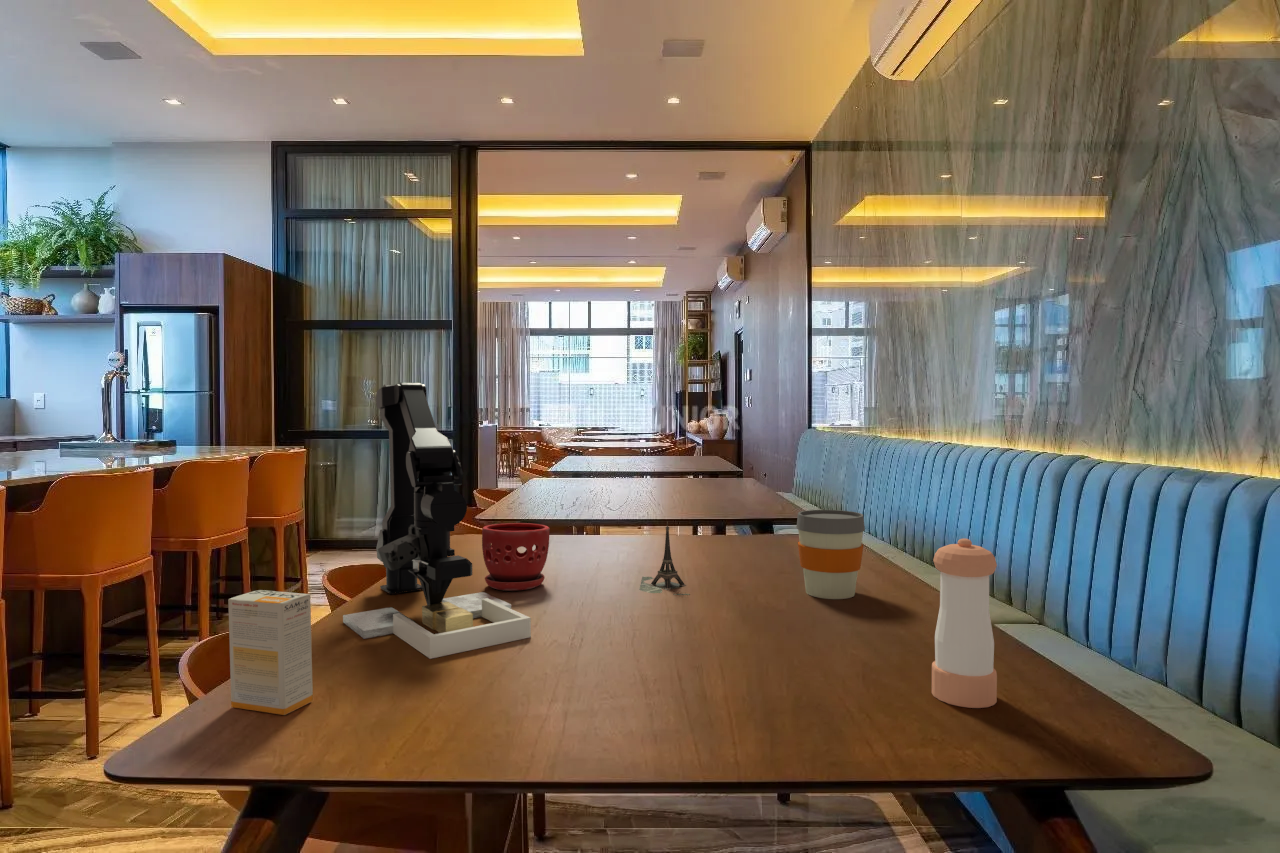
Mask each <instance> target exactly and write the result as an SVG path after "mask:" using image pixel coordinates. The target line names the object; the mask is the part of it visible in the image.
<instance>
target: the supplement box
mask: <svg viewBox="0 0 1280 853" xmlns="http://www.w3.org/2000/svg"><path fill="white" fill-rule="evenodd" d="M227 606H228V632H229V633H228V634H229V636H228V637H229V666H230V667H229V672H230V675H229V676H230V703H231V704H230V706H231V708H235V709H243V710H248V711H249V710H250V711H255V712H256V711H257V712H262V713H269V714H274V715H275V714H276V715H280V716H281V715H282V716H286V715H288V714H291V713H292V712H294V711H296V710H299V709H300V708H302V707H304V706H306V705H308V704H310V703H312V702H313V700H314V699H313V698H314V696H313V695H314V693H313V690H314V689H313V660H312V659H313V657H312V656H313V655H312V654H313V651H312V615H311V612H312V610H311V609H312V608H311V594H310V593H298V592H291V591H289V592H288V591H275V590H267V589H266V590H265V589H264V590H263V589H258V590H253V591H250V592H245V593H243V594H239V595H236V596H233V597H231V598H228V604H227Z"/></svg>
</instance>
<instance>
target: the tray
mask: <svg viewBox="0 0 1280 853" xmlns="http://www.w3.org/2000/svg"><path fill="white" fill-rule="evenodd" d="M400 613H401V612H400ZM400 613H397V614H393V633H392V634H394V635H395V636H396V637H398V638H399V639H400V640H402V641H404V642H405V643H407V644H408V645H409V646H411V647H412V648H414V649H416V651H418V652H420V653H421V654H423V655H424V656H425V657H426V658H428V659H430V660H431V659H436V658H439V657H440V658H441V657H445V656H450V655H454V654H458V653H463V652H467V651H468V652H469V651H472V650H477V649H481V648H485V647H491V646H496V645H500V644H505V643H509V642H515V641H519V640H524V639H528V638H531V637H532V632H531V631H532V629H531V625H532V623H531V622H532V620H531V619H532V618H531V617H530V616H528V615H526V614H524V613H521V612H519V611H517V610H514V609H512V608H511V609H510V608H508V607H506V606H504V605H501V604H499V603H497V602H495V601H493V600H490V599H488V598H485V599H482V617H481V618H483V619H486V620H488V621H489V622H492V623H486V624H481V625H476V626H473V627H470V628H465V629H460V630H455V631H449V632H444V633H440V632H438V633H435V634H434V633H432V632H431V631H430V630H427V629H425V627H422V626H421V625H419V624H418V623H416V621H415V622H413V621H414V620H413V621H411V620H410V619H411V618H410V619H408V618H409V617H408V618H406V617H405V616H406V615H405V616H403V615H404V614H403V613H402V614H403V615H402V614H400Z"/></svg>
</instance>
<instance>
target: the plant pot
mask: <svg viewBox="0 0 1280 853" xmlns="http://www.w3.org/2000/svg"><path fill="white" fill-rule="evenodd" d="M481 546H482V548H481V549H482V556H483V561H484V565H485V567H486V570H487V571H488V573H489V574H487V575H486V576H485V577H484V581H485V583H486V584H487V585H488V587H490V588H492V589H496V590H499V591H503V592H510V591H514V592H515V591H525V590H532V589H535V588H537V587H538V586H541V584H543V582H544V581H545V575H544V574H543V573H542V571H543V569H544V567H545V565H546V563H547V560H548V559H547V558H548V553H549V547H550V527H549V526H547V525H545V524H539V523H530V522H528V523H527V522H514V523H513V522H507V523H493V524H489V525H484V526H483V527H482V530H481ZM534 546H535V549H534V550H533V547H534ZM521 547H523V548H525V551H524V552H520V551H519V550H518V549H519V548H521Z"/></svg>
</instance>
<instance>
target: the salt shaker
mask: <svg viewBox="0 0 1280 853" xmlns="http://www.w3.org/2000/svg"><path fill="white" fill-rule="evenodd" d="M996 561H997V560H996V557H995V555H994V554H993V552H992V551H991V550H989V549H986V548H985V547H982V546H980V545H975V544H973V542H972V540H970V539H969V538H960V539H958V541H957V543H951V544H947V545H944V546H941V547H939V548H938V549H937V551H936V552H935V553H934V556H933V563H934V566H935V568H936V570H938V571H939V572H940V575H939V577H940V580H939V581H940V586H939V590H940V591H939V610H938V616H937V619H936V620H937V622H936V627H935V632H934V659H935V660H934V661H932V663H931V694H932V696H933V697H934V698H936V699H937V700H939V701H941V702H943V703H946V704H948V705H952V706H955V707H962V708H969V709H971V708H972V709H981V708H982V709H983V708H989V707H990V708H991V706H992V707H993V706H995V705H996V703H997V702H998V700H997V698H998V697H997V696H998V693H997V692H998V689H997V688H998V687H997V686H998V674H997V670H996V669H995V668H994V664H995V662H994V659H995V655H994V654H995V640H994V634H993V626H992V621H991V615H990V576H992V575H993V574H994V573H995V572H996V569H997V566H998V565H997V562H996Z"/></svg>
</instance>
